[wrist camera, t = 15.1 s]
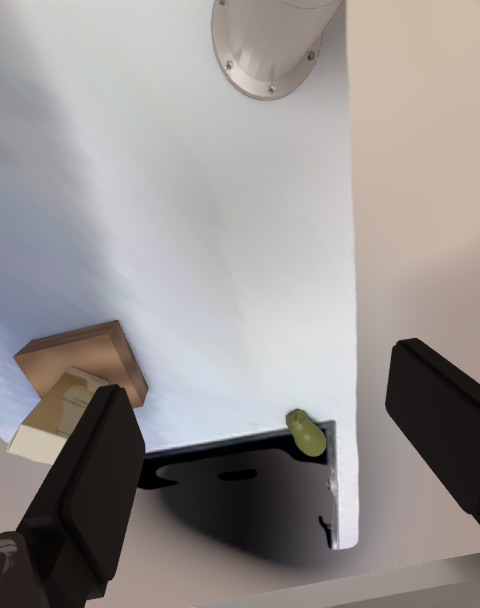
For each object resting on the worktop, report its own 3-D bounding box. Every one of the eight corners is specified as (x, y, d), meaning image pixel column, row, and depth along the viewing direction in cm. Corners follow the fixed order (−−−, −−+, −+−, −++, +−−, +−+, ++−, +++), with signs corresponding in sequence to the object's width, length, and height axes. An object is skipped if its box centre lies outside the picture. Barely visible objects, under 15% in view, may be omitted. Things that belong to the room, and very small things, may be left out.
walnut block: (33, 339, 44) (12, 356, 39) (118, 318, 44) (107, 333, 39) (73, 404, 50) (59, 426, 45) (149, 385, 50) (142, 406, 45)
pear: (310, 467, 53) (281, 431, 51) (304, 446, 58) (277, 413, 56) (335, 453, 52) (306, 416, 50) (326, 433, 57) (300, 399, 55)
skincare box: (110, 380, 43) (79, 443, 31) (98, 402, 43) (64, 470, 32) (68, 364, 41) (18, 424, 29) (56, 386, 42) (3, 453, 30)
